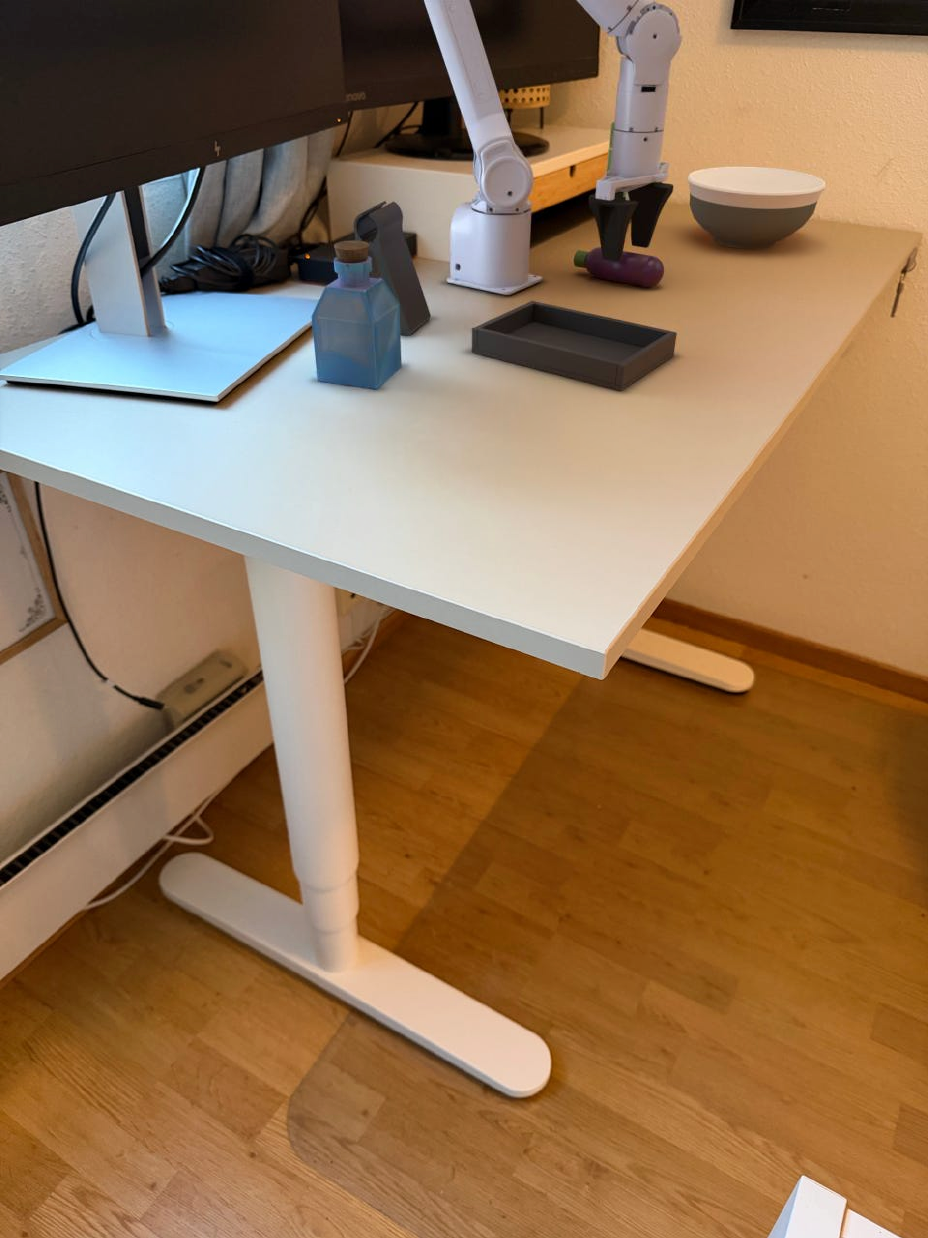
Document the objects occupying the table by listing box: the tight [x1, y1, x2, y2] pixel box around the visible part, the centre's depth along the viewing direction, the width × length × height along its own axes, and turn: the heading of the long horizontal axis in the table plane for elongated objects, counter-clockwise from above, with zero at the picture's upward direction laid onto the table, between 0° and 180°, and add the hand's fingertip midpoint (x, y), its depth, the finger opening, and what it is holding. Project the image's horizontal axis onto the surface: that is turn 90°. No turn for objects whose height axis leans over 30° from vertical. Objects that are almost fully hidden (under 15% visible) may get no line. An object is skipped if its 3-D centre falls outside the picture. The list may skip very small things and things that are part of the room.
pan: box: [471, 300, 678, 392], centre depth 91 cm, size 17×11×2 cm, turn 54°
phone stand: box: [353, 200, 432, 336], centre depth 96 cm, size 9×6×12 cm, turn 70°
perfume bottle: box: [311, 240, 403, 390], centre depth 84 cm, size 6×6×12 cm
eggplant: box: [573, 246, 665, 288], centre depth 112 cm, size 12×4×4 cm, turn 54°
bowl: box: [687, 166, 827, 250], centre depth 127 cm, size 19×19×8 cm
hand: (626, 252), depth 111 cm, fingers open, 7 cm apart
